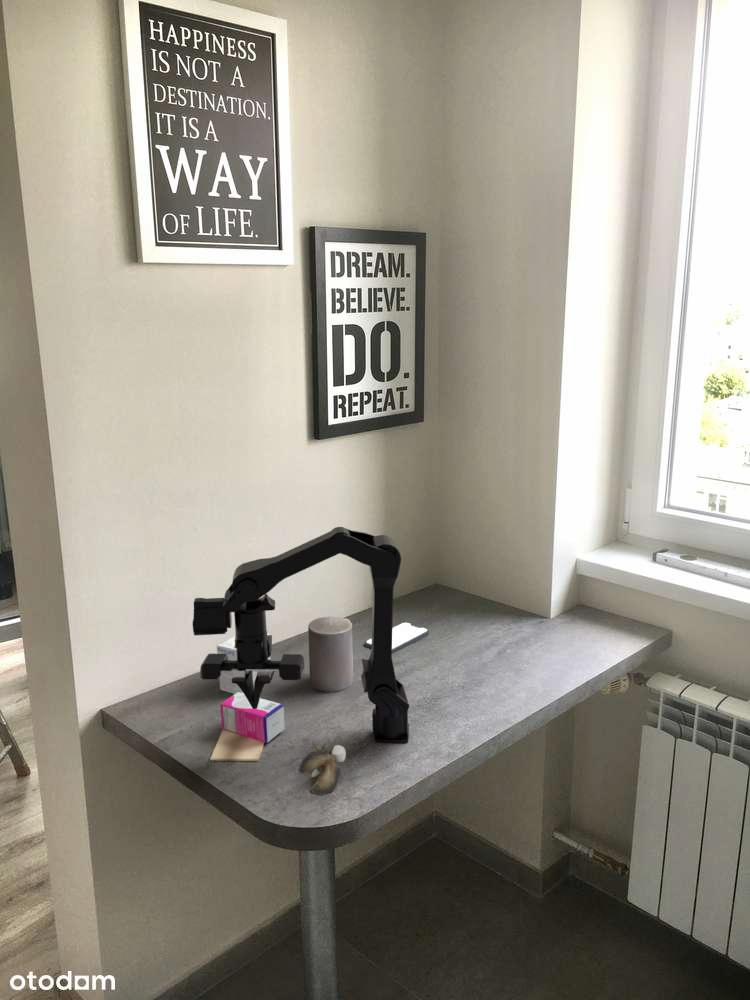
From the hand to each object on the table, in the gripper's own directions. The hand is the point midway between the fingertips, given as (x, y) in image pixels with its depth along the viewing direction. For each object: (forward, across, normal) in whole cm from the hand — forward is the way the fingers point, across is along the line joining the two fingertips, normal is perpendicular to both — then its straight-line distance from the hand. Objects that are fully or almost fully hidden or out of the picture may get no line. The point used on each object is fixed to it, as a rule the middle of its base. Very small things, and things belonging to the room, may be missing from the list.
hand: (255, 707), depth 159 cm
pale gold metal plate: (+8, +3, -1) cm, 8 cm away
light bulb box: (+8, +7, -25) cm, 27 cm away
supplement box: (+4, -4, -2) cm, 6 cm away
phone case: (+8, -26, -49) cm, 56 cm away
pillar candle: (+8, -12, -26) cm, 30 cm away
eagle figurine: (+8, -14, +12) cm, 20 cm away
